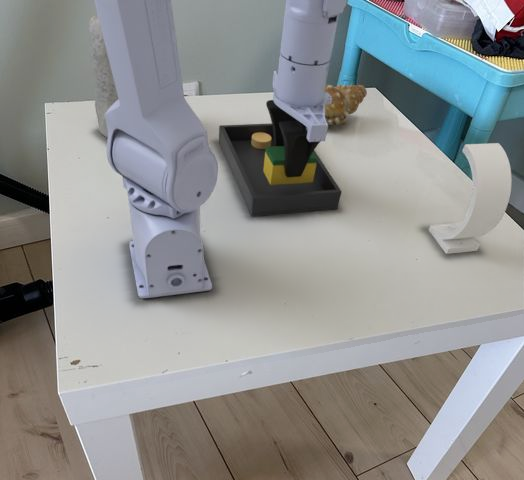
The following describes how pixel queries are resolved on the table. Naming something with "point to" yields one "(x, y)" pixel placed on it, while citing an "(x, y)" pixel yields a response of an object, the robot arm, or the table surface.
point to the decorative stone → (101, 75)
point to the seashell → (343, 102)
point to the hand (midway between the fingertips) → (288, 167)
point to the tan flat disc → (261, 140)
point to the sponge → (277, 171)
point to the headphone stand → (479, 199)
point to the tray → (257, 185)
